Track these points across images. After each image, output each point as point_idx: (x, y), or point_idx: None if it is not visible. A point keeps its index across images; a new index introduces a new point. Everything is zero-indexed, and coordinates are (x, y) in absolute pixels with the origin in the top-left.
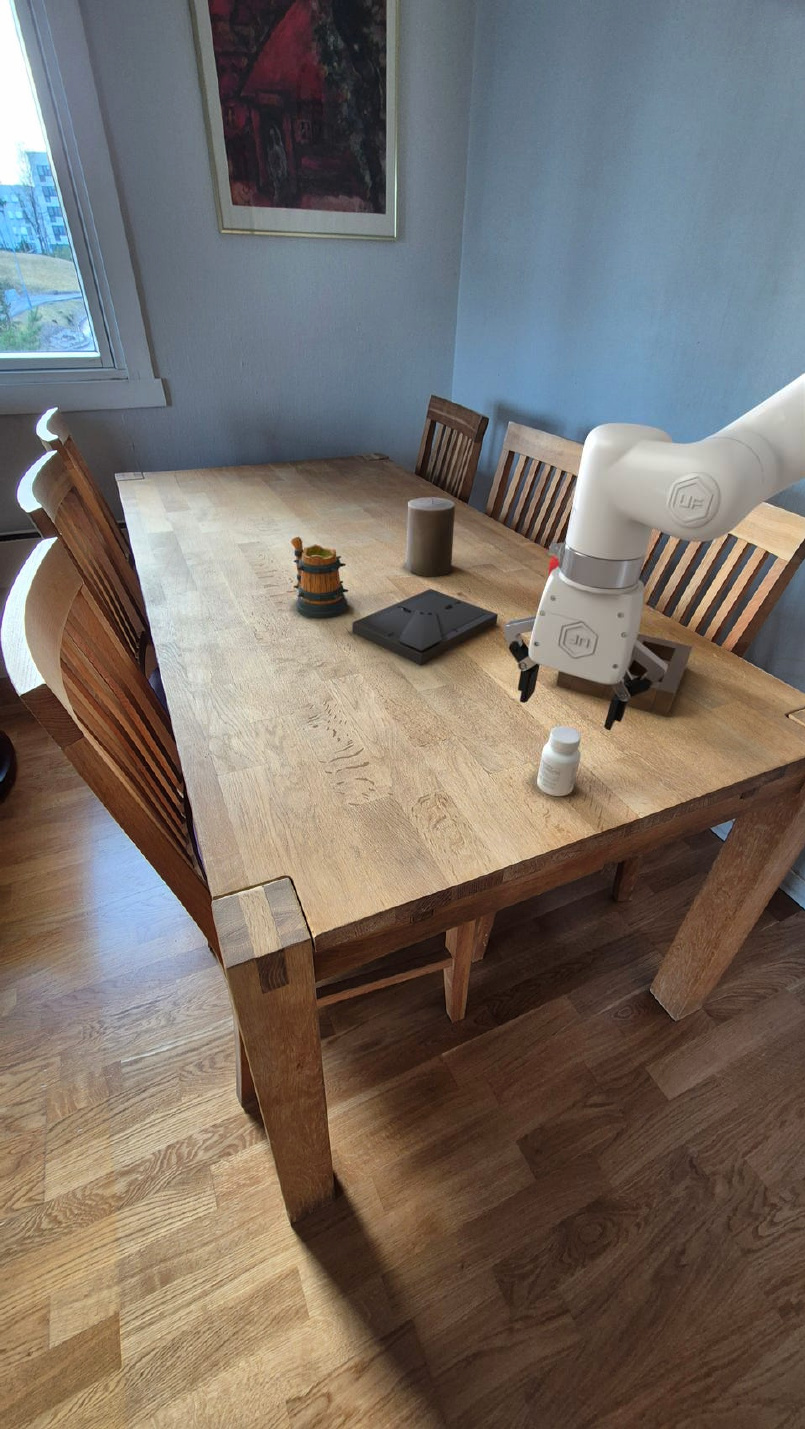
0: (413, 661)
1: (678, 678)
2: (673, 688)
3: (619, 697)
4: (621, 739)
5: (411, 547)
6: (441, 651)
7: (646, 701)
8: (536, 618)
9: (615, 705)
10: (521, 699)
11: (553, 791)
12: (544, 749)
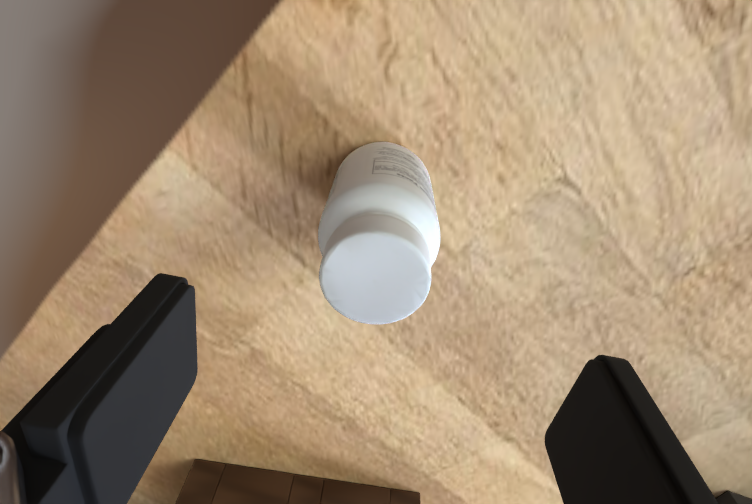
0: (746, 498)
1: None
2: None
3: (8, 454)
4: (262, 381)
5: None
6: None
7: (233, 487)
8: None
9: (63, 389)
10: (626, 367)
11: (382, 145)
12: (436, 232)
